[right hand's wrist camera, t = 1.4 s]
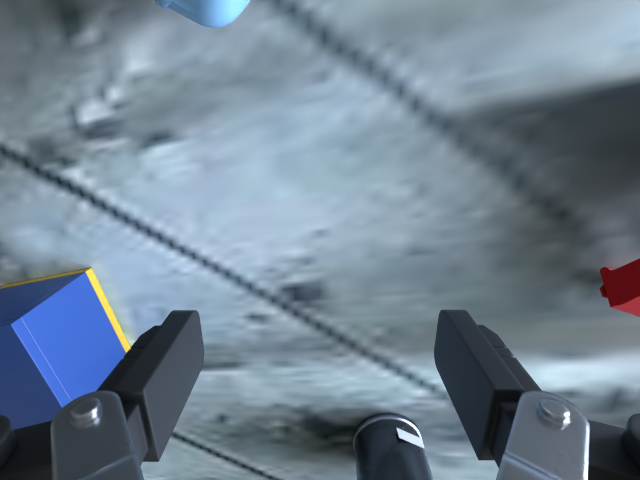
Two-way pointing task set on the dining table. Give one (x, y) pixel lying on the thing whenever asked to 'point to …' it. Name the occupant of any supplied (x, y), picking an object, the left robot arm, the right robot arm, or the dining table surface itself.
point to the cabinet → (54, 344)
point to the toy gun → (623, 287)
